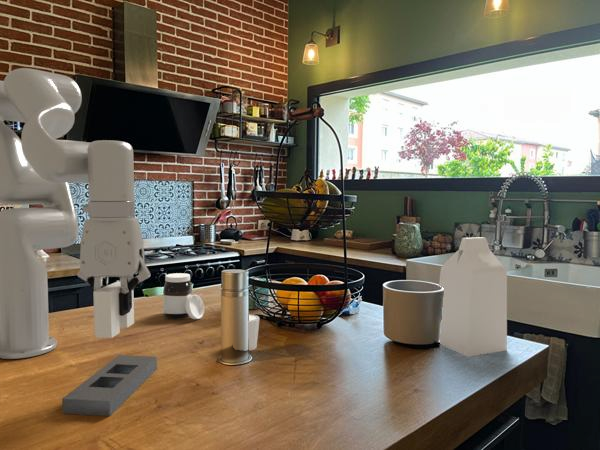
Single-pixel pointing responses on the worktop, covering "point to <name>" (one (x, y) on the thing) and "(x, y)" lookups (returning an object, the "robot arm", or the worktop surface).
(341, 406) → the worktop surface
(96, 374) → the grey slotted base
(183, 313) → the spread jar
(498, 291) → the milk
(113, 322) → the clip
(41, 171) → the robot arm
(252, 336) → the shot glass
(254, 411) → the worktop surface
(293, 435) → the worktop surface
